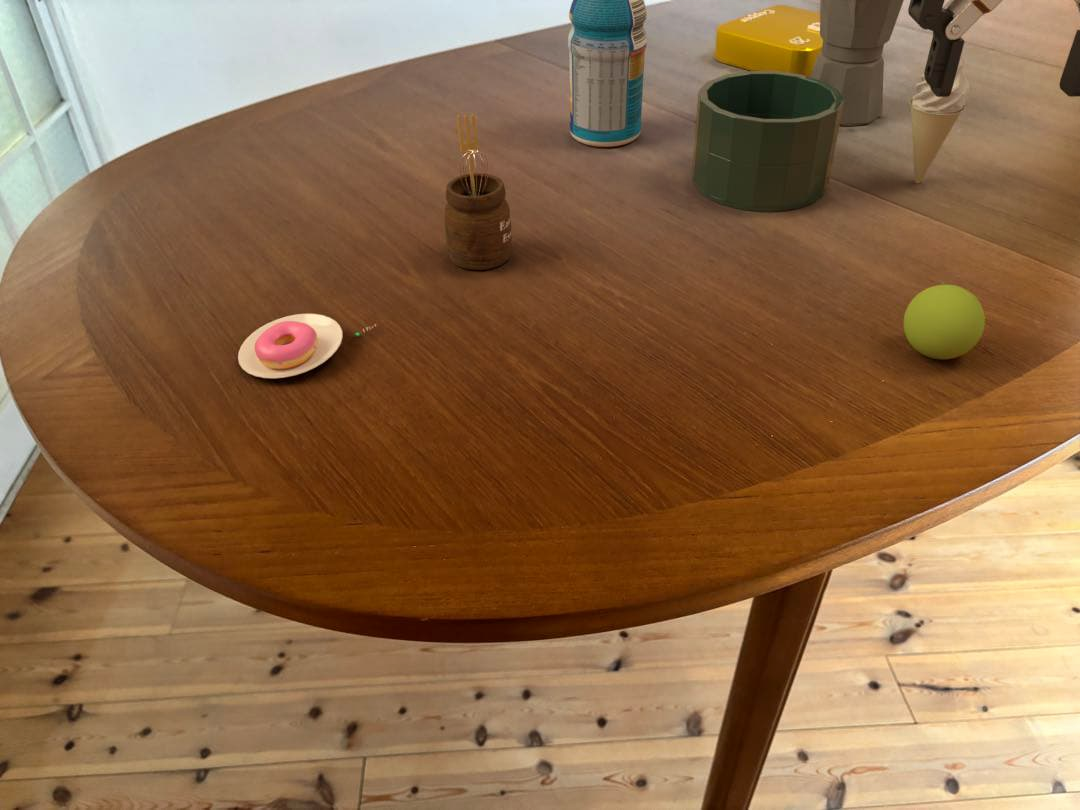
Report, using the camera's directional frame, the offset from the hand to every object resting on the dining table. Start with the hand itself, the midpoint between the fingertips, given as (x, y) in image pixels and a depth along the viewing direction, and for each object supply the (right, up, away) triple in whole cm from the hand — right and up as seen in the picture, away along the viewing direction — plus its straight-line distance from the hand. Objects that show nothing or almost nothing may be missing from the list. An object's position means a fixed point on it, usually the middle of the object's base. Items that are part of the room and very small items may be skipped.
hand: (1004, 92), depth 61 cm
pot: (-8, +2, +34) cm, 35 cm away
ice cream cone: (+8, +2, +33) cm, 34 cm away
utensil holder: (-36, -7, +24) cm, 44 cm away
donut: (-49, -16, +13) cm, 53 cm away
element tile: (+2, +26, +63) cm, 68 cm away
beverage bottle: (-23, +10, +45) cm, 51 cm away
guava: (0, -17, +10) cm, 19 cm away
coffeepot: (+5, +14, +49) cm, 51 cm away
